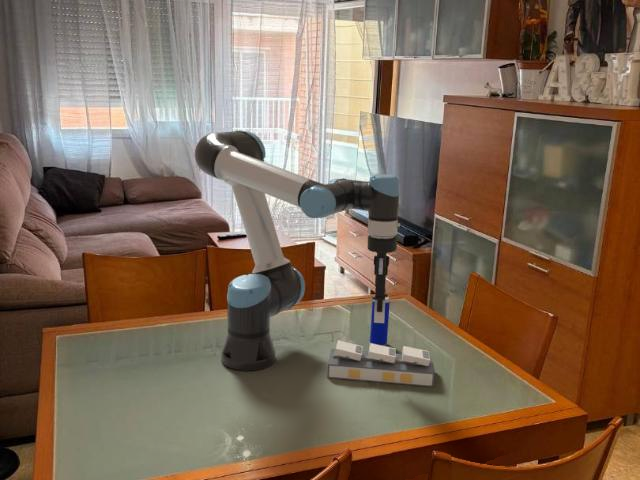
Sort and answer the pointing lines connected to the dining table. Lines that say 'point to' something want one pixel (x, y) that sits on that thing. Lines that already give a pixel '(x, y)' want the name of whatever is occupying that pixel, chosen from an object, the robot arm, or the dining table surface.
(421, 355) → the rocker
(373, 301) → the beverage can
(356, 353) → the plate
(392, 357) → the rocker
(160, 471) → the dining table surface
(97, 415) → the dining table surface
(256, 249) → the robot arm
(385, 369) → the switch console
